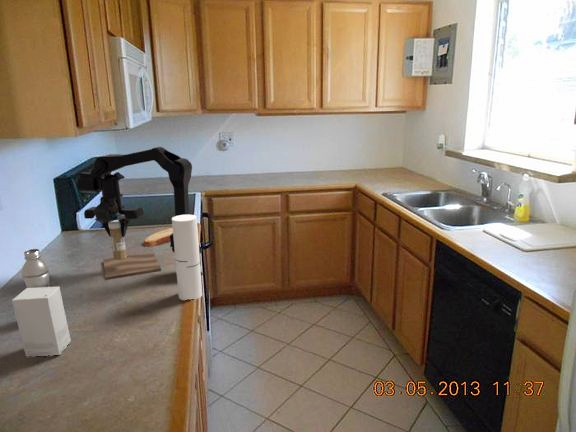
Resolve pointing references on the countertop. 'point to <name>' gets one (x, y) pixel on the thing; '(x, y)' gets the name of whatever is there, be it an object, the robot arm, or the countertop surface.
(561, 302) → the countertop surface
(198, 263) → the cylindrical container
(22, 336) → the skincare box
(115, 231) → the sprinkles bottle
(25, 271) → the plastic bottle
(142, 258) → the walnut board
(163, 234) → the slice of bread
